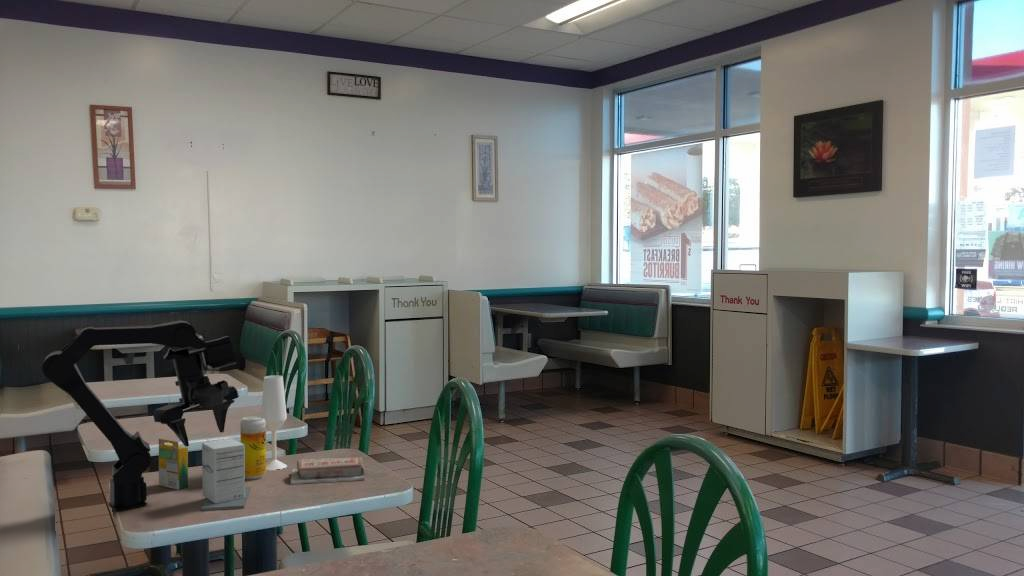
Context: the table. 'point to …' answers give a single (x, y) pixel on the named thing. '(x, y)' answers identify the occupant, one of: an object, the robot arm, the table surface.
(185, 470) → the crayon box
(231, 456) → the supplement box
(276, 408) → the champagne flute
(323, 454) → the table surface
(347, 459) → the packaged product
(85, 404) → the robot arm
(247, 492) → the mat
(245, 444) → the beer can
